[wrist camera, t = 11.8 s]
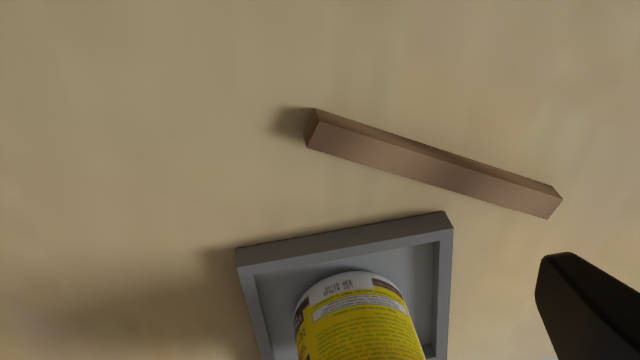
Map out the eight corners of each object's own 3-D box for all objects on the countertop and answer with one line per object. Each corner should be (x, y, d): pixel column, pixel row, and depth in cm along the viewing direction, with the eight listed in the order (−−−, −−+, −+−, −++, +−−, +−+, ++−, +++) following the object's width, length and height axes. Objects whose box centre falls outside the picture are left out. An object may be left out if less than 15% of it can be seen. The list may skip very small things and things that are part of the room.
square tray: (269, 377, 30) (270, 396, 29) (235, 248, 25) (236, 267, 24) (439, 343, 31) (446, 361, 30) (444, 211, 25) (453, 228, 24)
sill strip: (303, 134, 22) (306, 147, 21) (315, 108, 21) (319, 121, 20) (537, 206, 26) (547, 219, 25) (552, 186, 25) (563, 199, 25)
